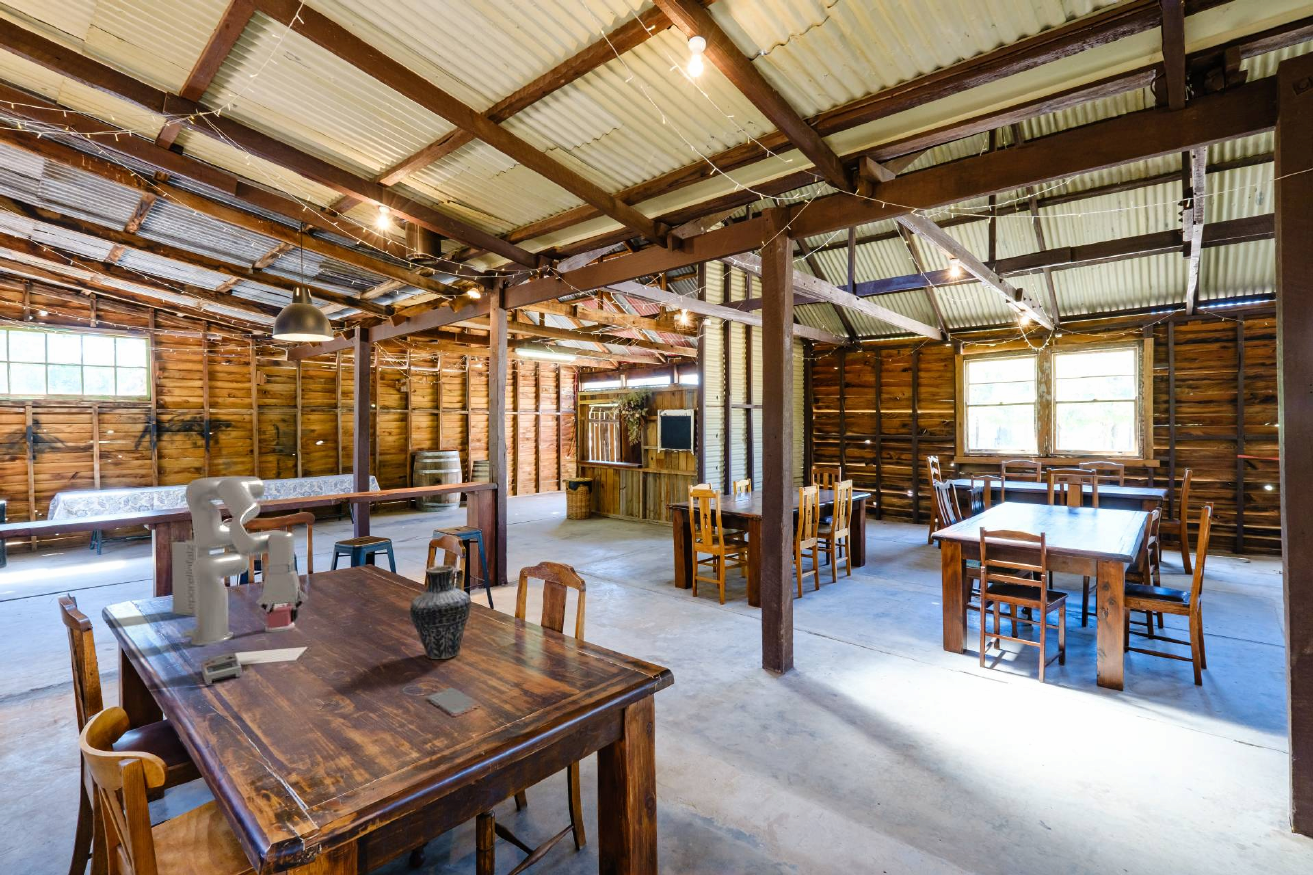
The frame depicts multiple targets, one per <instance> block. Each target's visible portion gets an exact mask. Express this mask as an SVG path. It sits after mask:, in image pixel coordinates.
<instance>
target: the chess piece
mask: <svg viewBox="0 0 1313 875" xmlns="http://www.w3.org/2000/svg"><path fill="white" fill-rule="evenodd" d="M288 604H289V603H282V604H274V607H273V610H275V609H276V608H277V607H285V606H288ZM295 626H296V624H295V621H294V622H292V623H291V624H290V625H289V626H286V627H275V628H268V626H267V625H266V626H265V628H264V631H265V632H267V633H279V632H283V631H284V630H285V631H289V630H291V629H293V628H295ZM285 631H284V632H285Z"/></svg>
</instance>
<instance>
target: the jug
mask: <svg viewBox="0 0 1313 875" xmlns="http://www.w3.org/2000/svg"><path fill="white" fill-rule="evenodd" d="M425 574H426V578H427V582H428V584H427V589H426V590H425V591H424V592H423V593H422V594H420V595H418V596H417V597H415V599H413V601H412V603H411V604H410V608H409V610H410V611H409V613H410V617H411V621H412V623H413V625H414V628H415V630H416V632H417V634H418V637H419V639H420V642H421V644H422V647H423V649H424V651H425V654H426V657H428V658H429V659H433V660H441V659H443V660H444V659H449V658H452V657H455V656H457V655H459V653H460V652H461V644H462V640H463V636H464V632H465V628H466V624H467V621H468V619H469V617H470V611H471V606H472V599H471V596H470V595H469V594H468V593H467V592H466V591H464V590H462V586H463V579H464V570H462V568H459V567H454V566H452V565H445V564H444V565H437V566H433V567H427V568H426V570H425ZM454 575H455V576H456V578H455V583H454V584H455V586H454V584H453V576H454Z"/></svg>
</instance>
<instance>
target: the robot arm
mask: <svg viewBox="0 0 1313 875" xmlns="http://www.w3.org/2000/svg"><path fill="white" fill-rule="evenodd" d="M265 492H266V486H265V483H264V482H263V481H262V479H261V478H259V477H257V476H246V475H245V476H243V475H234V476H233V475H230V476H215V477H214V476H211V477H202V478H198V479H194V480H192V481H190V482H189V483H188V485H186V488H185V493H184V494H185V496H184V497H185V502H186V504H187V506H188V509H189V511H190V515H191V519H192V521H191V522H192V530H193V532H192V533H193V541H195V546H196V548H197V549H198V550H200V551H210V552H211V551H216V550H222V549H227V550H228V551H223V552H218V553H217V552H216V553H210V555H205V556H202V557H200V558H198V559H196V560H195V561H194V562H193V564H192V574H193V578H194V583H195V594H196V616H195V629H192V630H191V629H188V630H184V631H183V637H184V638H192V639H190V644H191V646H195V645H196V647H197V646H198V647H200V646H202V647H203V646H209V645H214V644H219V643H222V642H227V641H229V640H231V639H233V637H234V632H233V631H229V590H228V588H227V586H226V585H225V584H224V583H223V582H222V580H223V579H226V578H230V577H235V576H239V575H242V574H245V573H246V572H247V571H248V569H249V566H250V557H251V556H258V555H261V554H267V559H268V560H267V562H268V564H267V565H266V566H264V567H263V571H266V572H267V574H265V576H264V582H263V589H262V590H263V591H262V595H261V596H260V597H259V598H258V599H257V600H256V601H255V603H256V604H257V605H259V606H260V607H261V608H262V609H263V610H265V612H266V613H267V614H269V613H270V612H272V611H273V607H274V604H282V603H288V604H289V606H291V607H292V610H291V622H294V623H295V621H297V619H298V617H299V614H298V613H299V610H298V608H299V607H300V606H302V604H303V603H304V602H305V601H307V600H308V598H309V596H308V595H307V594H306V593H305V592H303V590H301V586H300V578H299V575H298V571H297V570H295V569H296V567H295V536H294V534H293V533H292V532H289V531H282V530H278V529H272V530H266V531H265V530H264V531H259V532H258V531H257V532H251V533H249V532H247V530H246V529H245V527H244V524H247V523H248V522H250V521H251V520H253V519H254V518H256V517H257V516H258V515H259V514H260V512H261V505H260V504H259V503H258V501H257V500H258V499H260V498H262V497H263V496H264V494H265ZM212 501H222V503H223V505H224V506H225V507H226V509H227V510H228V511H229V513H230V515H231V516H232V519H231V521H229V522H223V520H222V513H221V510H220V509H219V506H217V505H216V504H215V503H214V502H212ZM300 598H301V599H300ZM298 599H300V600H299V601H297V600H298ZM267 614H266V615H267ZM296 618H297V619H296Z"/></svg>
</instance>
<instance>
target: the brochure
mask: <svg viewBox="0 0 1313 875" xmlns="http://www.w3.org/2000/svg"><path fill="white" fill-rule="evenodd" d="M210 554H211V551H200V550H198V549H197V548H196V546H195V541H194V540H185V542H171V556H172V558H171V559H172V560H171V561H172V563H171V564H172V568H171V569H172V570H171V571H172V614H176V615H183V616H184V615H185V616H193V617H196V594H195V583H194V578H193V574H192V564H193V562H194V561H195V560H196V559H198V558H200V557H202V556H205V555H210Z"/></svg>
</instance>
